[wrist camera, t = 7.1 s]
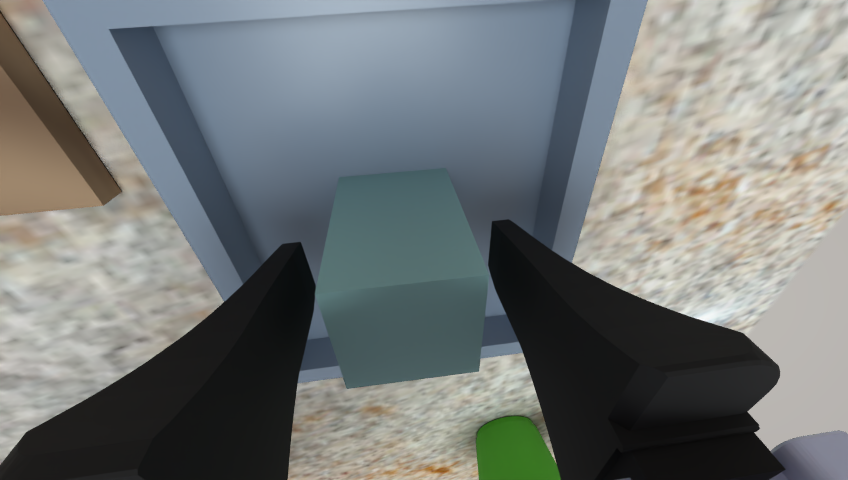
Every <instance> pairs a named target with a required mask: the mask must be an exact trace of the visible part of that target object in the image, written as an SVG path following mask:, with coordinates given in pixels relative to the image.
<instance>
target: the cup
mask: <svg viewBox="0 0 848 480" xmlns="http://www.w3.org/2000/svg"><path fill="white" fill-rule="evenodd" d="M476 449H477V461H478V473H479V480H561V478H560V474H559V471H558V467H557V464H556V462H555V460H554V459H553V457H552V455H551V453H550V451H549V449H548V447H547V446H546V444H545V442H544V440H543V438H542V436H541V434H540V433H539V431H538V429H537V427H536V426H535V425H534V424H532V422H531V420H530V419H528V418H526V417H522V416H509V417H503V418H499V419H496V420H493V421H491V422H489V423H487V424H485V425H484V426H483V427H481V428H480V429H479V431H478V433H477V439H476Z"/></svg>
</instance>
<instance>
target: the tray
mask: <svg viewBox="0 0 848 480" xmlns="http://www.w3.org/2000/svg"><path fill="white" fill-rule="evenodd" d="M647 1H648V0H43V2H44V4H45V5H46V7H47V8H48V10H49V12H50V13H51V15H52V17H53V18H54V20H55V22H56V23H57V25H58V27H59V28H60V30H61V32H62V33H63V35H64V37H65V38H66V40H67V42H68V43H69V45H70V47H71V48H72V50H73V52H74V53H75V55H76V57H77V58H78V60H79V62H80V63H81V65H82V67H83V68H84V70H85V71H86V73H87V75H88V76H89V78H90V80H91V81H92V83H93V85H94V86H95V88H96V90H97V91H98V93H99V95H100V96H101V98H102V100H103V101H104V103H105V105H106V106H107V108H108V110H109V111H110V113H111V115H112V116H113V118H114V120H115V121H116V123H117V125H118V126H119V128H120V130H121V131H122V133H123V134H124V136H125V138H126V139H127V141H128V143H129V144H130V146H131V148H132V149H133V151H134V153H135V154H136V156H137V158H138V159H139V161H140V163H141V164H142V166H143V168H144V169H145V171H146V173H147V174H148V176H149V178H150V179H151V181H152V183H153V184H154V186H155V188H156V189H157V191H158V192H159V194H160V196H161V197H162V199H163V201H164V202H165V204H166V206H167V207H168V209H169V211H170V212H171V214H172V216H173V217H174V219H175V221H176V222H177V224H178V226H179V227H180V229H181V231H182V232H183V234H184V236H185V237H186V239H187V241H188V242H189V244H190V246H191V247H192V249H193V251H194V252H195V254H196V255H197V257H198V259H199V260H200V262H201V264H202V265H203V267H204V269H205V270H206V272H207V274H208V275H209V277H210V279H211V280H212V282H213V284H214V285H215V287H216V289H217V290H218V292H219V294H220V295H221V297H222V299H223V300H224V302H225V301H226V300H227V299H228V298H229V297H230V296H231V295H232V294H233V293H234V292H235V291H237V290H238V289H239V288H240V287H241V286H242V285H243V284H244V283H245V282H246V281H247V280H248V279H249V278H250V277H251V276H252V275H253V274H254V273H255V272H256V271H257V269H258V268H259V267H260V266H261V265H262V264H263V263H264V262H265V261H266V260H267V259H268V258H269V257H270V256H271V255H272V254H273V253H274V252H275V251H276V250H277V249H278V248H279V247H280V246H281V245H282V244H285V243H294V242H301V244H302V247H303V249H304V252H305V255H306V258H307V261H308V264H309V267H310V270H311V273H312V275H313V278H314V281H315V284H316V286H317V281H318V276H319V271H320V267H321V262H322V257H323V252H324V247H325V242H326V238H327V233H328V228H329V223H330V218H331V214H332V209H333V204H334V199H335V194H336V189H337V185H338V180H339V177H347V176H359V175H370V174H382V173H394V172H405V171H417V170H428V169H440V168H446V170H447V172H448V175H449V177H450V180H451V182H452V185H453V187H454V189H455V192H456V194H457V197H458V199H459V202H460V204H461V207H462V209H463V211H464V214H465V216H466V219H467V221H468V224H469V226H470V229H471V231H472V233H473V236H474V238H475V241H476V243H477V246H478V248H479V251H480V253H481V256H482V258H483V260H484V263H485V265H486V268H487V270H488V273H489V283H488V292H487V302H486V311H485V320H484V329H483V339H482V348H481V357H480V358H488V357H495V356H502V355H510V354H517V353H523V351H522V349H521V346H520V344H519V341H518V339H517V337H516V335H515V333H514V330H513V328H512V326H511V324H510V322H509V319H508V317H507V315H506V313H505V311H504V308H503V306H502V304H501V302H500V299H499V297H498V295H497V293H496V290H495V287H494V284H493V281H492V278H491V274H490V271H489V267H488V259H489V248H490V237H491V225H492V221H497V220H506V219H509V220H511V221H512V222H514V223H515V224H517V225H518V226H519V227H521V228H522V229H523V230H525V231H526V232H527V233H529V234H530V235H531V236H533V237H534V238H535V239H537V240H538V241H540V242H541V243H542V244H544V245H545V246H547V247H548V248H549V249H551V250H552V251H554V252H555V253H557V254H558V255H560V256H561V257H563V258H565V259H566V260H568V261H569V262H571V263H572V260H573V257H574V253H575V250H576V246H577V243H578V239H579V236H580V233H581V229H582V226H583V222H584V219H585V215H586V212H587V208H588V205H589V201H590V198H591V194H592V191H593V188H594V184H595V181H596V177H597V174H598V170H599V167H600V163H601V160H602V156H603V153H604V150H605V146H606V143H607V139H608V136H609V132H610V129H611V125H612V122H613V118H614V115H615V111H616V108H617V105H618V101H619V98H620V94H621V91H622V87H623V84H624V80H625V77H626V73H627V70H628V67H629V63H630V60H631V56H632V53H633V49H634V46H635V42H636V39H637V35H638V32H639V28H640V25H641V22H642V18H643V15H644V11H645V8H646V4H647ZM340 377H343V376H342V373H341V370H340V367H339V364H338V361H337V358H336V355H335V352H334V349H333V346H332V344H331V341H330V338H329V335H328V332H327V329H326V326H325V323H324V320H323V317H322V314H321V311H320V308H319V305H318V302H317V299H316V296H315V303H314V312H313V317H312V321H311V326H310V330H309V334H308V339H307V343H306V347H305V351H304V355H303V360H302V364H301V368H300V373H299V378H298V383H303V382H310V381H318V380H325V379H332V378H340Z"/></svg>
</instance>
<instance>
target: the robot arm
mask: <svg viewBox="0 0 848 480" xmlns="http://www.w3.org/2000/svg"><path fill="white" fill-rule="evenodd" d="M488 267H489V271H490V274H491V278H492V281H493V284H494V287H495V290H496V293H497V295H498V297H499V299H500V302H501V304H502V306H503V308H504V311H505V313H506V315H507V317H508V319H509V322H510V324H511V326H512V328H513V330H514V333H515V335H516V337H517V339H518V341H519V344H520V346H521V349H522V351H523V354H524V357H525V360H526V363H527V366H528V369H529V372H530V375H531V378H532V381H533V384H534V387H535V390H536V393H537V397H538V400H539V403H540V406H541V409H542V413H543V416H544V420H545V423H546V427H547V430H548V434H549V437H550V441H551V444H552V448H553V452H554V455H555V459H556V463H557V467H558V471H559V474H560V478H561V480H848V434H847V433H846V432H843V431H833V432H826V433H820V434H813V435H807V436H801V437H797V438H793V439H790V440H788V441H785V442H783V443H781V444H779V445H778V446H776V447H775V448H774V449H772V450H771V451H769V449H768V448H767V447H766V446H765V445H764V444H763V442H762V441H761V440H760V439H759V438H758V437H757V436H756V434H755V433H754V432H756V431H758V430H759V429H760V428H759V424H758V423H757V422H756V421H755V420H754V419H753V418H752V417H751V415H750V414H749V413H748V412H747V411H748V410H749V409H751V408H752V407H753V406H754V405H755V404H756V403H757V402H758V401H759V400H760V399H762V398H763V397H764V396H765V395H766V394H767V393H768V392H769V391H770V390H771V389H772V388H773V387H774V386H775V385H776V384H777V382H778V379H779V377H780V369H779V366H778V365H777V364H776V363H775V362H774V361H773V360H772V359H771V358H770V357H768V356H767V355H766V354H765V353H764V352H763V351H762V350H761V349H760V348H759V347H757V346H756V345H755V344H754V343H753V342H752V341H751V340H750V339H749V338H748V337H747V336H746V335H745V334H743V333H741V332H738V331H735V330H731V329H728V328H725V327H722V326H718V325H715V324H712V323H708V322H705V321H702V320H699V319H695V318H692V317H689V316H686V315H684V314H681V313H678V312H675V311H673V310H670V309H667V308H664V307H662V306H659V305H657V304H654V303H651V302H649V301H646V300H644V299H642V298H639V297H637V296H635V295H633V294H630V293H628V292H626V291H623V290H621V289H619V288H617V287H615V286H613V285H611V284H609V283H607V282H605V281H603V280H601V279H599V278H597V277H595V276H593V275H591V274H590V273H588V272H586V271H584V270H583V269H581V268H579V267H577V266H576V265H574V264H573V263H571V262H569V261H568V260H566V259H565V258H563V257H561V256H560V255H558V254H557V253H555V252H554V251H552V250H551V249H549V248H548V247H547V246H545V245H544V244H542V243H541V242H540V241H538V240H537V239H535V238H534V237H533V236H531V235H530V234H529V233H527V232H526V231H525V230H523V229H522V228H521V227H519V226H518V225H517V224H515V223H514V222H512V221H511V220H509V219H506V220H497V221H492V225H491V237H490V248H489V259H488ZM315 291H316V284H315V281H314V278H313V275H312V273H311V270H310V267H309V264H308V261H307V258H306V255H305V252H304V249H303V247H302V244H301V242H294V243H285V244H282V245H281V246H280V247H279V248H278V249H277V250H276V251H275V252H274V253H273V254H272V255H271V256H270V257H269V258H268V259H267V260H266V261H265V262H264V263H263V264H262V265H261V266H260V267H259V268H258V269H257V271H256V272H255V273H254V274H253V275H252V276H251V277H250V278H249V279H248V280H247V281H246V282H245V283H244V284H243V285H242V286H241V287H240V288H239V289H238V290H237V291H235V292H234V293H233V294H232V295H231V296H230V297H229V298H228V299H227V300H226V301H225V302H224V303H223V304H222V305H221V306H219V307H218V308H217V309H216V310H215V311H214V312H213V313H211V314H210V315H209V316H208V317H207V318H206V319H204V320H203V321H202V322H201V323H199V324H198V325H197V326H196V327H194V328H193V329H192V330H191V331H189V332H188V333H187V334H185V335H184V336H183V337H181V338H180V339H179V340H177V341H176V342H174V343H173V344H172V345H170V346H169V347H167V348H166V349H165V350H163V351H162V352H160V353H159V354H157V355H156V356H155V357H153V358H152V359H150V360H149V361H148V362H146V363H145V364H143V365H141V366H140V367H138V368H137V369H135V370H134V371H132V372H131V373H129V374H127V375H126V376H124V377H123V378H121V379H119V380H118V381H116V382H115V383H113V384H111V385H110V386H108V387H106V388H105V389H103V390H101V391H100V392H98V393H96V394H95V395H93V396H91V397H89V398H88V399H86V400H84V401H82V402H81V403H79V404H77V405H75V406H73V407H71V408H70V409H68V410H66V411H64V412H62V413H61V414H59V415H57V416H55V417H53V418H52V419H50V420H48V421H46V422H44V423H43V424H41V425H39V426H37V427H35V428H33V429H31V430H29V431H27V432H26V433H25V435H24V436H23V437H22V438H21V440H20V441H19V442H18V443H17V445H16V446H15V447H14V448H13V450H12V451H11V452H10V453H9V455H8V456H7V457H6V458H5V460H4V461H3V462H2V463H1V465H0V480H287V479H288V467H289V455H290V443H291V433H292V424H293V414H294V406H295V398H296V390H297V383H298V378H299V373H300V368H301V364H302V360H303V355H304V351H305V347H306V343H307V339H308V334H309V330H310V326H311V321H312V317H313V312H314V303H315Z"/></svg>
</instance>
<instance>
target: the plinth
mask: <svg viewBox="0 0 848 480" xmlns="http://www.w3.org/2000/svg"><path fill="white" fill-rule="evenodd" d="M119 193H121V190H120V189H119V187H118V186H117V184H116V183H115V181H114V180H113V178H112V177H111V176H110V174H109V173H108V171H107V170H106V168H105V167H104V165H103V164H102V162H101V161H100V159H99V158H98V156H97V155H96V153H95V152H94V150H93V149H92V148H91V146H90V145H89V143H88V142H87V140H86V139H85V137H84V136H83V134H82V133H81V131H80V130H79V128H78V127H77V125H76V124H75V122H74V121H73V120H72V118H71V117H70V115H69V114H68V112H67V111H66V109H65V108H64V106H63V105H62V103H61V102H60V100H59V99H58V97H57V96H56V94H55V93H54V92H53V90H52V89H51V87H50V86H49V84H48V83H47V81H46V80H45V78H44V77H43V75H42V74H41V72H40V71H39V69H38V68H37V66H36V65H35V63H34V62H33V61H32V59H31V58H30V56H29V55H28V53H27V52H26V50H25V49H24V47H23V46H22V44H21V43H20V41H19V40H18V38H17V37H16V35H15V34H14V33H13V31H12V30H11V28H10V27H9V25H8V24H7V22H6V21H5V19H4V18H3V16H2V15H1V13H0V216H2V215H12V214H22V213H32V212H43V211H53V210H63V209H73V208H83V207H94V206H104V205H105V204H106V203H108V202H109V201H110V200H112V199H113V198H114V197H115V196H117V195H118V194H119Z"/></svg>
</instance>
